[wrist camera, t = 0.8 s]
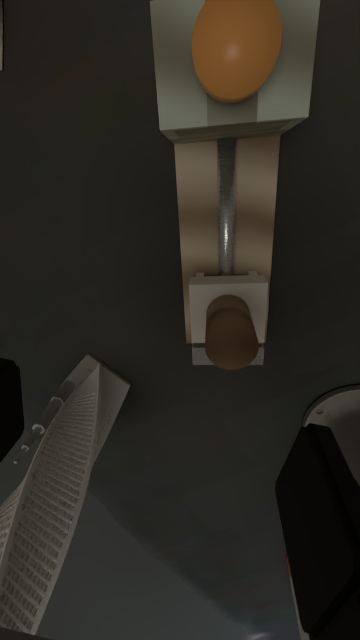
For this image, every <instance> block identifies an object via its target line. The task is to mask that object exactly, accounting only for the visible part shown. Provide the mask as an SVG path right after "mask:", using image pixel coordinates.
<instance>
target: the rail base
mask: <svg viewBox="0 0 360 640" xmlns="http://www.w3.org/2000/svg"><path fill="white" fill-rule="evenodd" d="M206 1H207V0H154V1H150V10H151V23H152V35H153V48H154V61H155V74H156V87H157V100H158V113H159V125H160V131H161V132H162V133H163V134H164V135H165V136H166V137H167V138H168V139H169V140H170V141H171V142H172V143H173V144H174V146H175V163H176V179H177V196H178V212H179V228H180V245H181V261H182V277H183V294H184V310H185V326H186V343H192V338H191V319H190V300H189V282H190V277H196V273H198V272H204V277H207V276H238V275H248V271H257V273H258V275H264V276H265V278H266V280H267V281H268V295H267V310H266V325H265V339H264V342H266V333H267V318H268V304H269V290H270V275H271V261H272V247H273V232H274V218H275V204H276V189H277V175H278V160H279V146H280V135H282V134H283V133H285V132H286V131H288V130H289V129H291V128H292V127H294V126H295V125H297V124H298V123H300V122H301V121H303V120H304V119H306V118H307V117H308V115H309V105H310V95H311V85H312V76H313V66H314V56H315V46H316V36H317V26H318V17H319V7H320V0H273V1H274V2H275V4H276V6H277V9H278V12H279V15H280V20H281V27H282V39H281V47H280V51H279V55H278V58H277V61H276V63H275V65H274V68H273V69H272V71H271V73H270V75H269V77H268V78H267V80H266V82H265V83H264V84H263V86H262V87H261V88H260V89H259V90H258V91H257V92H256V93H255V94H254V95H252V96H251V97H249V98H248V99H246V100H243V101H240V102H236V103H224V102H221V101H218V100H216V99H214V98H212V97H211V96H210V95H208V94H207V93H206V92H205V90H204V89H203V88H202V86H201V85H200V83H199V81H198V79H197V76H196V73H195V70H194V64H193V58H192V33H193V29H194V25H195V22H196V19H197V16H198V14H199V12H200V10H201V8H202V7H203V5H204V3H205V2H206ZM263 357H264V345H263V343H259V351H258V354H257V356H256V358H255V359H254V360H253V361H252V362H251V363H250V364H249V365H263ZM192 358H193V365H214V364H213V363H212V362H211V361H210V360H209V359H208V357H207V355H206V352H205V343H192Z"/></svg>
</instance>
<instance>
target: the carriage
mask: <svg viewBox="0 0 360 640" xmlns="http://www.w3.org/2000/svg"><path fill="white" fill-rule="evenodd" d="M267 295H268V281H267V280H266V278H265V276H264V275H258V273H257V271H248V275H238V276H207V277H204V272H198V273H196V277H190V282H189V300H190V319H191V338H192V343H205V352H206V355H207V357H208V359H209V360H210V361H211V362H212V363H213V364H214V365H216V366H218V367H220V368H223V369H227V370H236V369H240V368H243V367H245V366H247V365H249V364H250V363H251V362H252V361H253V360H254V359H255V358H256V356H257V354H258V351H259V343H264V339H265V325H266V310H267Z"/></svg>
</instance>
